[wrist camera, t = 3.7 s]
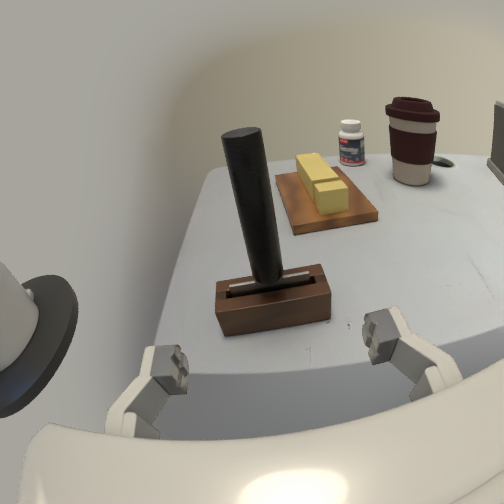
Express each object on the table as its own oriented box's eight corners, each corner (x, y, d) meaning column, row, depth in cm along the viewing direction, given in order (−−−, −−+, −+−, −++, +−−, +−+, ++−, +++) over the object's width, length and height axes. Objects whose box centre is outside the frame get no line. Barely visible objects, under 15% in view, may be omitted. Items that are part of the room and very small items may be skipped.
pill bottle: (336, 164, 54) (333, 123, 49) (344, 156, 58) (341, 118, 52) (361, 167, 52) (359, 125, 46) (367, 159, 55) (365, 120, 49)
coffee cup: (387, 187, 44) (387, 100, 35) (384, 166, 51) (382, 94, 42) (440, 192, 40) (446, 107, 31) (430, 171, 47) (432, 98, 38)
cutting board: (293, 235, 37) (292, 225, 36) (276, 182, 51) (274, 175, 51) (377, 220, 36) (378, 211, 35) (337, 173, 51) (337, 166, 50)
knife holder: (224, 336, 26) (214, 312, 24) (224, 306, 29) (216, 281, 27) (330, 318, 25) (331, 292, 23) (321, 289, 28) (320, 263, 26)
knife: (240, 328, 26) (184, 148, 16) (239, 308, 28) (190, 139, 18) (313, 316, 26) (298, 127, 16) (308, 297, 28) (290, 120, 18)
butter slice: (320, 215, 37) (318, 191, 35) (315, 206, 39) (313, 183, 37) (348, 211, 37) (348, 187, 35) (342, 202, 39) (341, 179, 37)
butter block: (313, 202, 40) (311, 180, 38) (297, 173, 50) (295, 155, 48) (339, 198, 40) (338, 176, 38) (318, 170, 49) (316, 152, 47)
